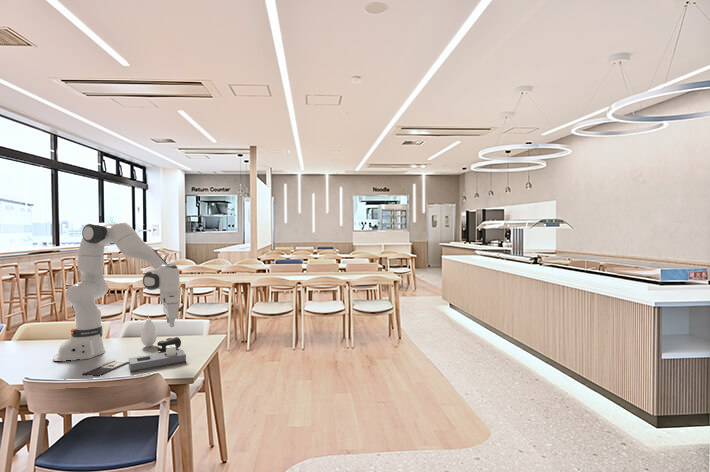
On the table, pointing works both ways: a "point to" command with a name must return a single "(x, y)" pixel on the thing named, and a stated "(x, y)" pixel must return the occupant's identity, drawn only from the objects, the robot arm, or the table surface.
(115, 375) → the table surface
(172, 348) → the charger
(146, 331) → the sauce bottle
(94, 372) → the chocolate bar
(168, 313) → the robot arm
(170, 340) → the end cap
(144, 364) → the power strip
